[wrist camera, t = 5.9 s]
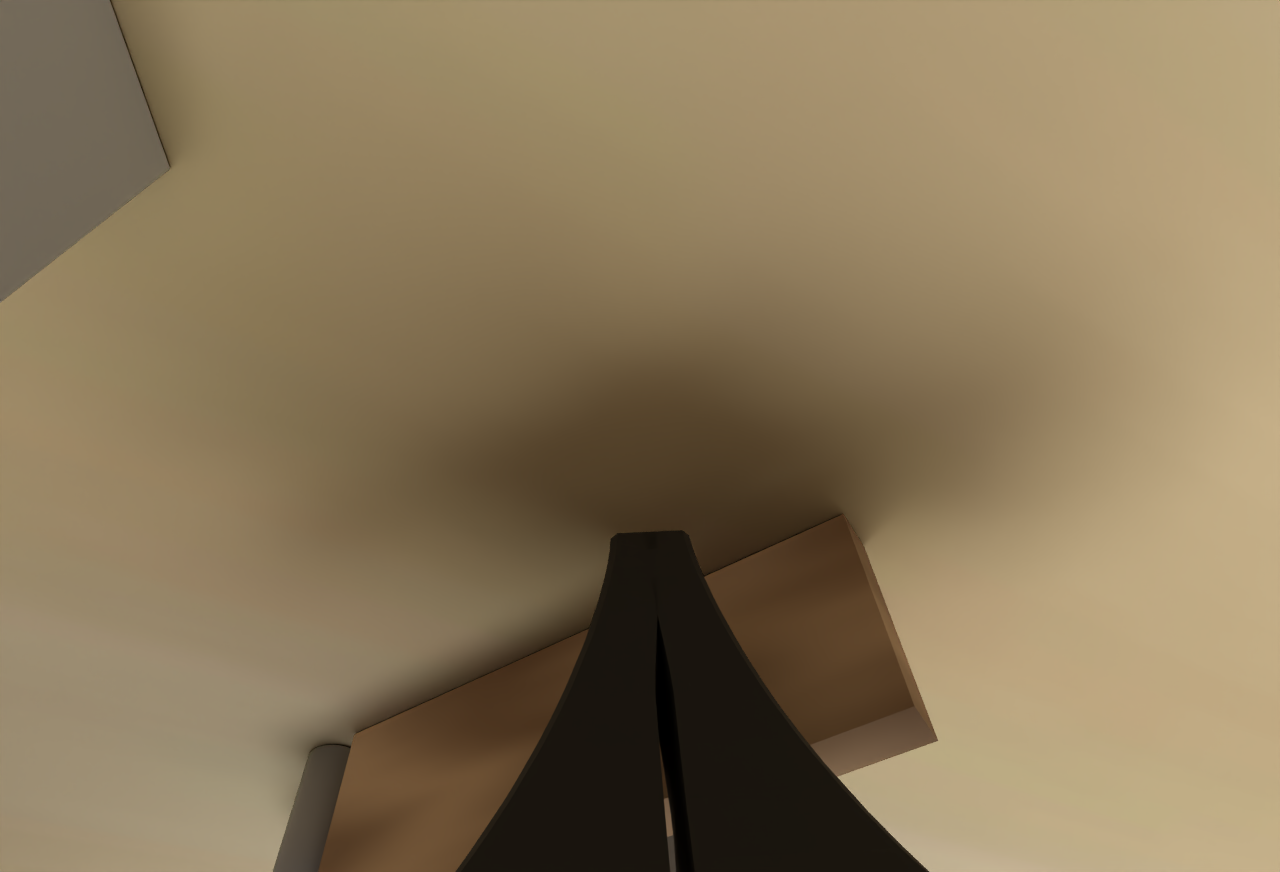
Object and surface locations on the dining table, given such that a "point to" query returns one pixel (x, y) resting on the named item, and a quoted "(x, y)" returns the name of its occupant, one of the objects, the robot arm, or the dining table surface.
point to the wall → (99, 220)
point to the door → (531, 688)
